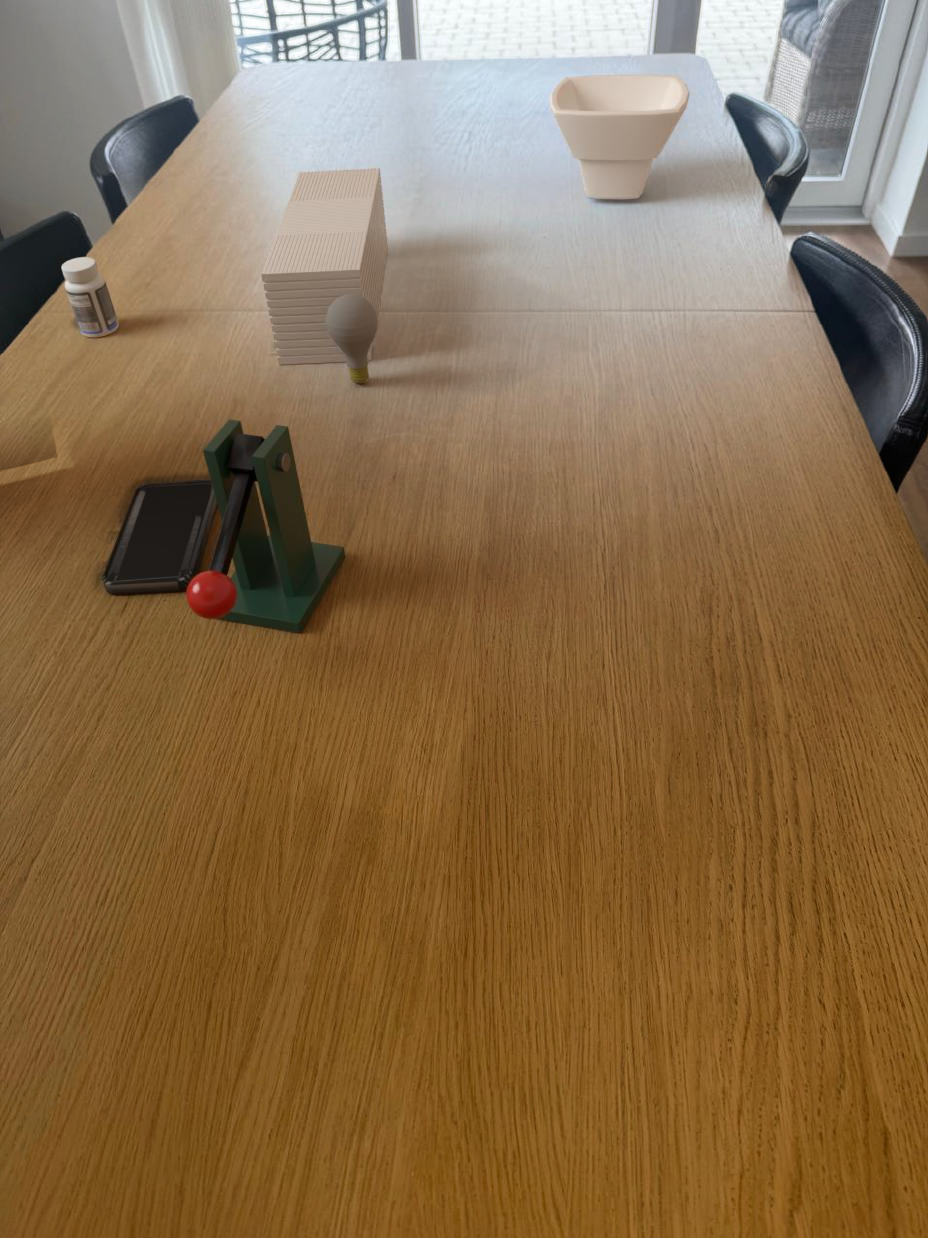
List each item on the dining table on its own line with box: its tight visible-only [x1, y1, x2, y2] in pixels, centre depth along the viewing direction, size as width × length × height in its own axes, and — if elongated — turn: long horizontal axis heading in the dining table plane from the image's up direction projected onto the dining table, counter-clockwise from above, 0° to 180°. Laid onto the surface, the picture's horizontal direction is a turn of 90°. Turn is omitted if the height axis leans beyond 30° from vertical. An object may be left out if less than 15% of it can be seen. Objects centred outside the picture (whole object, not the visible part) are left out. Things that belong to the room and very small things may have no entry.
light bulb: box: [326, 294, 379, 385], centre depth 104 cm, size 6×5×10 cm
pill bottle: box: [61, 256, 120, 339], centre depth 117 cm, size 5×5×8 cm
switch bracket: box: [202, 418, 347, 634], centre depth 77 cm, size 10×8×15 cm
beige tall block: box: [261, 167, 389, 365], centre depth 119 cm, size 32×11×11 cm, turn 0°
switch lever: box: [185, 433, 266, 620], centre depth 72 cm, size 14×4×4 cm
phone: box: [101, 479, 218, 596], centre depth 88 cm, size 8×1×15 cm
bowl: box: [549, 73, 691, 200], centre depth 140 cm, size 19×19×14 cm
